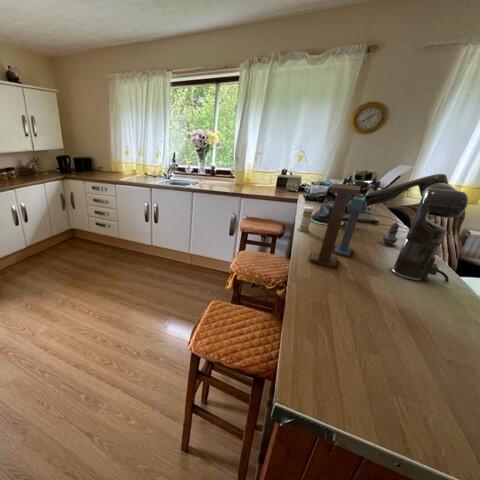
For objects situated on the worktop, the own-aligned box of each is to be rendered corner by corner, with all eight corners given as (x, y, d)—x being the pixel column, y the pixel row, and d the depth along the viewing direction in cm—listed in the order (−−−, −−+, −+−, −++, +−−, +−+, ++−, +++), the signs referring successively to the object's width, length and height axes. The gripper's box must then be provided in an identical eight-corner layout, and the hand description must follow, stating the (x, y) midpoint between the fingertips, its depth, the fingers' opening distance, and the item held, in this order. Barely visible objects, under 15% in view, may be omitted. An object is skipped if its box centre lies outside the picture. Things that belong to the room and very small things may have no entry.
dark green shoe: (353, 224, 151) (321, 225, 150) (331, 229, 169) (302, 230, 168) (350, 199, 152) (318, 201, 151) (328, 207, 171) (299, 208, 170)
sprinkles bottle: (309, 231, 143) (315, 207, 137) (305, 232, 140) (311, 209, 135) (301, 228, 146) (307, 205, 141) (297, 230, 144) (302, 207, 139)
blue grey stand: (350, 249, 120) (367, 201, 111) (349, 257, 113) (366, 206, 104) (336, 246, 124) (350, 199, 115) (333, 253, 116) (348, 204, 107)
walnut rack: (337, 260, 110) (360, 186, 98) (334, 269, 103) (359, 190, 90) (313, 254, 115) (333, 183, 103) (309, 262, 108) (330, 186, 95)
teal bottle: (363, 201, 119) (366, 192, 118) (362, 210, 105) (365, 200, 104) (353, 199, 121) (355, 191, 120) (350, 208, 107) (353, 198, 106)
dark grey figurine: (382, 245, 125) (391, 222, 120) (378, 241, 130) (386, 219, 125) (397, 247, 123) (407, 224, 118) (392, 243, 128) (401, 220, 123)
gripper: (343, 182, 135) (346, 169, 121) (377, 185, 127) (384, 172, 113) (339, 195, 134) (341, 184, 121) (373, 200, 126) (379, 187, 113)
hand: (362, 178), depth 117 cm, fingers open, 8 cm apart
